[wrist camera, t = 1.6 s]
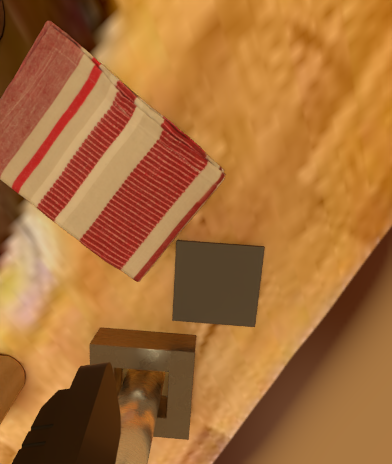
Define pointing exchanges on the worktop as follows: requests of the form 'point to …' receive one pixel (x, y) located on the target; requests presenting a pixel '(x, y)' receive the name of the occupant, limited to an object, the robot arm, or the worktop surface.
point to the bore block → (154, 359)
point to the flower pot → (9, 383)
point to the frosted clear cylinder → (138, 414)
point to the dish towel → (99, 156)
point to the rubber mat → (217, 283)
